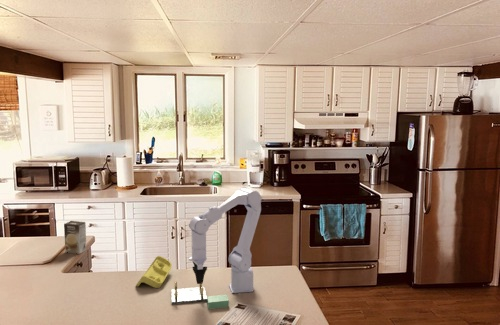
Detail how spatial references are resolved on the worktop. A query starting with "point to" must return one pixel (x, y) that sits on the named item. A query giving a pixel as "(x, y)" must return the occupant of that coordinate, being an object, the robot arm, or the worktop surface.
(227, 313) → the worktop surface
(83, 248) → the coffee box
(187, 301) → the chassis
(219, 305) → the green rectangular block
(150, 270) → the plastic component
